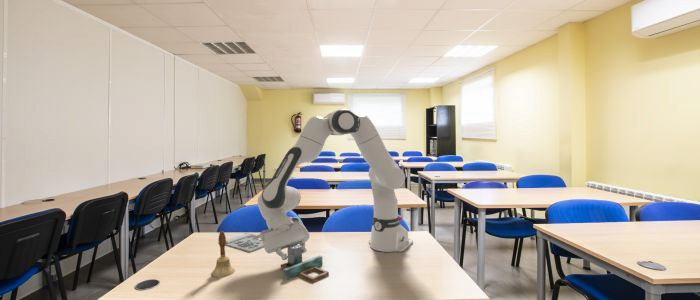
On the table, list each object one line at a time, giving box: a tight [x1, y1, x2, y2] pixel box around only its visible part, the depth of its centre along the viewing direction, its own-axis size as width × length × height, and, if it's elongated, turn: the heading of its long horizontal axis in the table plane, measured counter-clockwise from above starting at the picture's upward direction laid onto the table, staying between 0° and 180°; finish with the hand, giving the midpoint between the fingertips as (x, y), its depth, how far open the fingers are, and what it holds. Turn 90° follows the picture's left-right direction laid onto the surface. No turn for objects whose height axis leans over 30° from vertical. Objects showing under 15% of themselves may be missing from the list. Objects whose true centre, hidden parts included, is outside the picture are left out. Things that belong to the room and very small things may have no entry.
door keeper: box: [280, 255, 330, 283], centre depth 124 cm, size 18×19×4 cm
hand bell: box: [211, 230, 236, 278], centre depth 123 cm, size 8×8×16 cm
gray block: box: [287, 244, 303, 267], centre depth 128 cm, size 4×4×8 cm
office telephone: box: [225, 231, 264, 253], centre depth 159 cm, size 23×3×20 cm
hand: (295, 255), depth 127 cm, fingers open, 8 cm apart
